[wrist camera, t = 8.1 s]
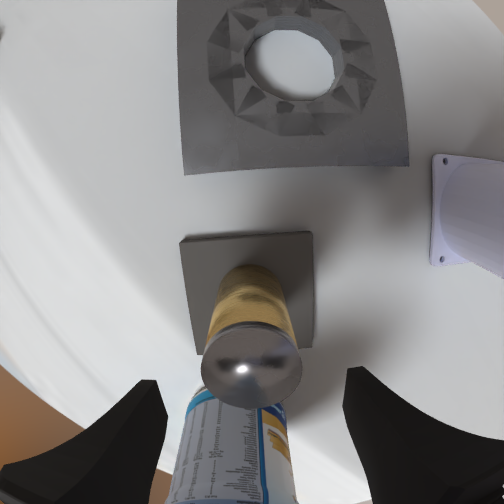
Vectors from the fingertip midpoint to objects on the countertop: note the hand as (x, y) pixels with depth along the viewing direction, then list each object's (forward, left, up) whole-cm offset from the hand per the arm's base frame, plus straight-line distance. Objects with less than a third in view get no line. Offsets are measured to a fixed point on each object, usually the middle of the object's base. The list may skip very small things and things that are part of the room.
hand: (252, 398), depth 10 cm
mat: (0, 0, -10) cm, 10 cm away
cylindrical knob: (0, 0, -9) cm, 9 cm away
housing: (-3, -14, -10) cm, 18 cm away
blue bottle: (+2, +11, -10) cm, 15 cm away
